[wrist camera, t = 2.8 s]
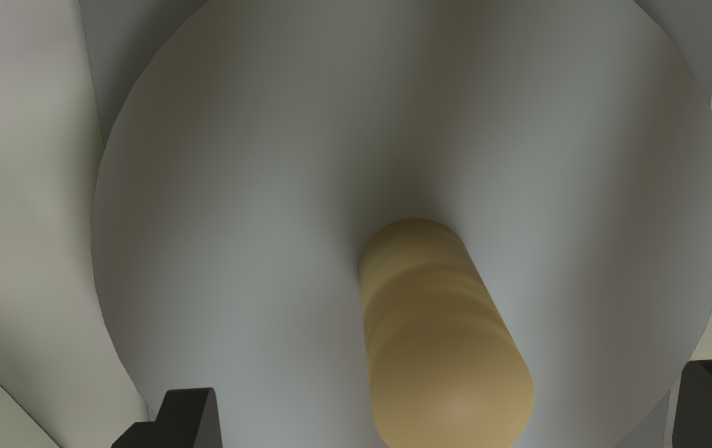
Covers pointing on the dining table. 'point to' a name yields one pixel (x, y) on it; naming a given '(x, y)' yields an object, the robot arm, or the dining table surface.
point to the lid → (410, 221)
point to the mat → (177, 3)
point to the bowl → (20, 427)
